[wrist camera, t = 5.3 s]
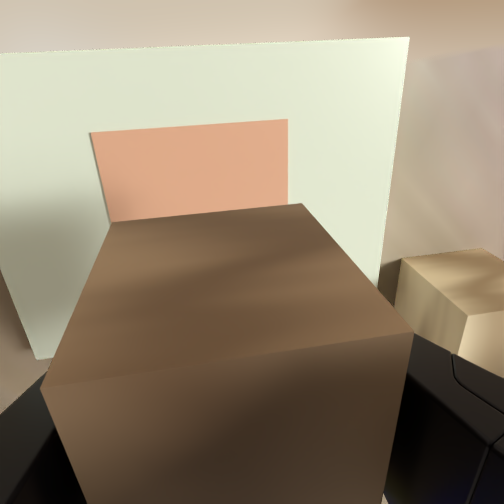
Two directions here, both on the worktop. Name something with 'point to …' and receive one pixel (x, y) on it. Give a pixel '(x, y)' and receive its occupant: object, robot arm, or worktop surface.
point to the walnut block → (229, 365)
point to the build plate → (186, 150)
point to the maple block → (456, 303)
